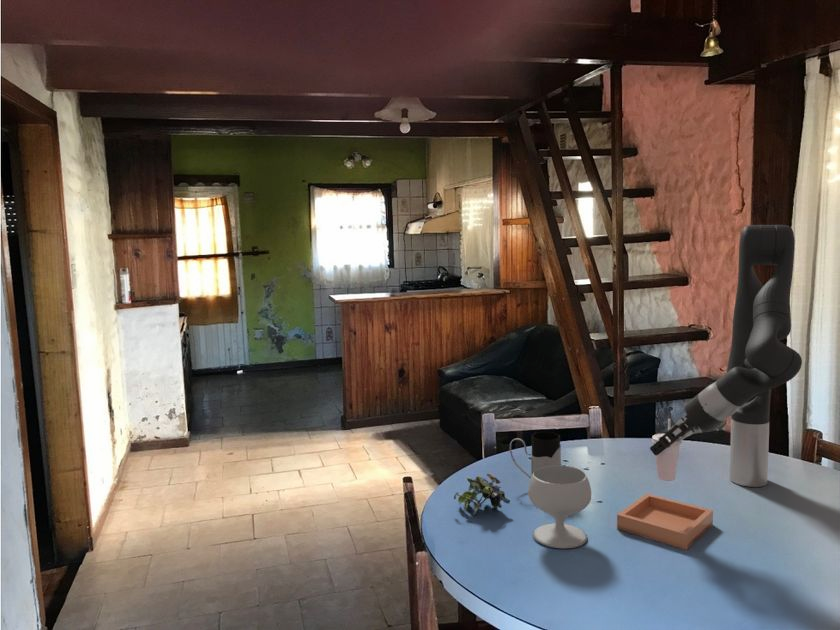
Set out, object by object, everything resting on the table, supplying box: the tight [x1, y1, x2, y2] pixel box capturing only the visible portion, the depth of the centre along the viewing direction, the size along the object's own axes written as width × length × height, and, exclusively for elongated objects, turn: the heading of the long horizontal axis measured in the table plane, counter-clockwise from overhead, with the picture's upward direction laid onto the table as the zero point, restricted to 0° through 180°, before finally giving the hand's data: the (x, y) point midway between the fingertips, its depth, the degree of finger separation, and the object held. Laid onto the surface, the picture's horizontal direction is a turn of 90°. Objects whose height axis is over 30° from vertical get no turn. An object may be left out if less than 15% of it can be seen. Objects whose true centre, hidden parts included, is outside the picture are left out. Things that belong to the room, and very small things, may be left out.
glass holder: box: [509, 431, 562, 480], centre depth 176 cm, size 9×14×15 cm, turn 71°
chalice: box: [527, 464, 592, 549], centre depth 147 cm, size 14×14×15 cm
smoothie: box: [651, 418, 682, 482], centre depth 149 cm, size 6×6×14 cm
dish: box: [616, 493, 714, 551], centre depth 151 cm, size 16×16×4 cm
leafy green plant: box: [453, 473, 511, 517], centre depth 163 cm, size 11×11×12 cm
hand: (659, 447), depth 150 cm, fingers closed on smoothie, 6 cm apart
